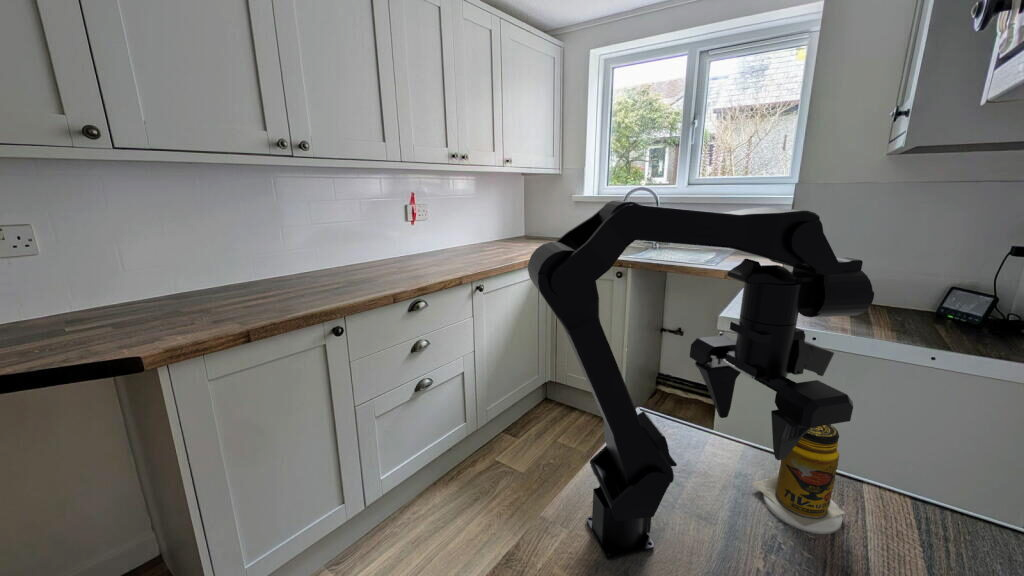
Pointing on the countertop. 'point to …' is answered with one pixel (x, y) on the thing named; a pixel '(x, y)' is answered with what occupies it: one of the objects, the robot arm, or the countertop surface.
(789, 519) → the coaster
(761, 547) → the countertop surface
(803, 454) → the condiment
